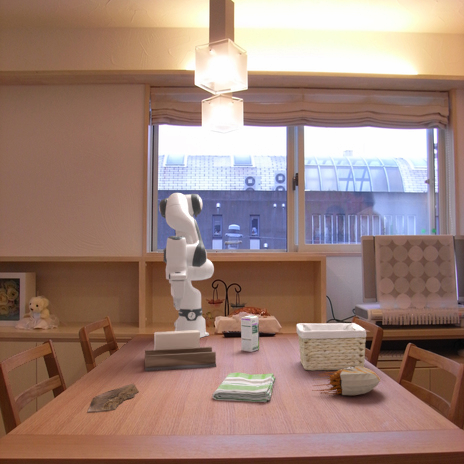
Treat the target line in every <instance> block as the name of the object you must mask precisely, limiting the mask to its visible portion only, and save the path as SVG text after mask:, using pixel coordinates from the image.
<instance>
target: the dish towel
mask: <svg viewBox="0 0 464 464" xmlns="http://www.w3.org/2000/svg"><path fill="white" fill-rule="evenodd" d="M275 382H276V377H275V375H274V373H273V372H272V373H263V374H261V373H259V374H257V373H256V374H255V373H254V374H249V373H245V372H244V373H243V372H229V373H228V374H227V375H226V377H225V378H224V379H223V381H222V382H221V383H220V384H219V385H218V387H217V388H216V390H214V392H213V393H212V396H211V397H212V398H213V400H216V401H217V400H218V401H237V402H252V403H254V402H255V403H258V402H259V403H268V401H270V400H271V397H272V393H273V387H274V385H275Z"/></svg>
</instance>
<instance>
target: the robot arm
mask: <svg viewBox="0 0 464 464" xmlns="http://www.w3.org/2000/svg"><path fill="white" fill-rule="evenodd" d="M203 206H204V205H203V199H202V198H201V196H200V195H199V194H197V193H191V194H183V193H181V192H174V193H172V194H170V195H169V196H168V197H166V198H164V199H161V200H160V201H159V205H158V209H159V213H160V215H161V217H162V218H163V219H165V221H166V224H167V225H168V226H169V227H170V228H171V229H173V230H175V235H171V236H169V237H167V239H166V247H164V248H163V262H164V263H165V264H166V266H165V279H166V280H168V283H169V284H170V294H171V297H172V300H173V308H175V310H176V311H178V312H177V313H178V318H177V319H176V320H175V321H174V324H173V327H175V328H174V331H189V330H198V331H199V332H200V338H203V337H207V336H210V333H209V332H207V329H206V319H205V318H204V317H203V307H202V293H201V291H200V290H199V289H197V288H196V287H194V286H193V284H192V281H204V280H208V279H210V278H212V276H213V275H214V273H215V272H214V271H215V267H214V263H213V262H212V261H211V260H210V259H208V252H207V250H206V247H205V244H204V241H203V238H202V235H201V231H200V226H199V225H198V221H197V220H196V219H195V218H198V215H200V214H201V212H202V210H203Z"/></svg>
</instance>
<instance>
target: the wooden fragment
mask: <svg viewBox="0 0 464 464" xmlns="http://www.w3.org/2000/svg"><path fill="white" fill-rule="evenodd" d="M139 392H140V391H139V390H138V388H137V387H136V385H135V384H134V383H129V384H127V385H124V386H121V387H118V388H114V389H110V390H108V391H106V392H103V393H101V394H98V395H95V396H94V397H93V398H92V400H91V403H90V404H89V408H88V410H87V414H91V413H92V414H93V413H96V414H97V413H103V412H111V411H115V410H116V409H117V407H118V406H119V405H121V404H122V403H123V402H124V401H126V400H129V399H132V398H133V397H135V395H136V394H137V393H139Z"/></svg>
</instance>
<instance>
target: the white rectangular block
mask: <svg viewBox="0 0 464 464" xmlns="http://www.w3.org/2000/svg"><path fill="white" fill-rule="evenodd" d="M153 334H154V339H153V341H154V347H153V350H159V349H177V348H196V347H201V345H200V343H201V340H200V338H201V337H200V332H199V331H198V330H189V331H175V330H171V331H155V332H154V333H153Z"/></svg>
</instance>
